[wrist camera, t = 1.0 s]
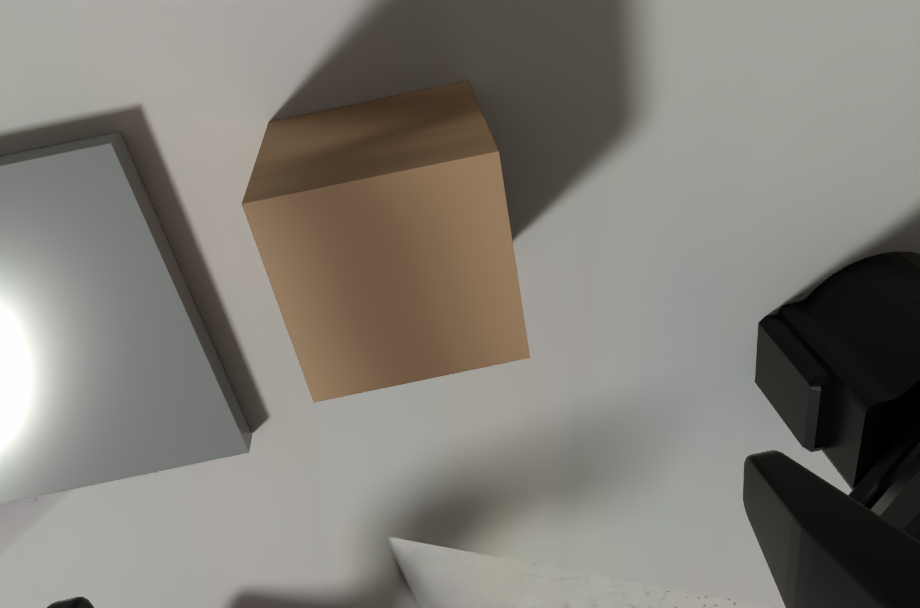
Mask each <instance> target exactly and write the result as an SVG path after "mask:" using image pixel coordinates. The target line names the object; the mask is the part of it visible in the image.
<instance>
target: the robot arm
mask: <svg viewBox="0 0 920 608" xmlns="http://www.w3.org/2000/svg"><path fill="white" fill-rule="evenodd" d="M755 382H756V384H757V385H758V387H759V388H760V389H761V391H762V392H763V393H764V395H765V396H766V398H767V399H768V400H769V402H770V403H771V404H772V406H773V407H774V408H775V410H776V411H777V413H778V414H779V415H780V417H781V418H782V419H783V421H784V422H785V424H786V425H787V426H788V428H789V429H790V430H791V432H792V433H793V435H794V436H795V437H796V439H797V440H798V441H799V443H800V444H801V445H802V447H804V448H805V449H807V450H808V451H810V452H814V451H819V450H822V451H823V452H824V454H825V455H826V456H827V458H828V459H829V460H830V461H831V463H832V464H833V465H834V467H835V468H836V469H837V471H838V472H839V473H840V475H841V476H842V477H843V479H844V480H845V481H846V483H847V484H848V485H849V487H850V488H851V489H852V491H851V492H850V494H849V495H847V494H845V493H843V492H842V491H840V490H839V489H837V488H836V487H834V486H833V485H831V484H829V483H828V482H826V481H825V480H823V479H822V478H820V477H819V476H817V475H816V474H814V473H812V472H811V471H809V470H808V469H806V468H805V467H803V466H802V465H800V464H798V463H797V462H795V461H794V460H792V459H791V458H789V457H788V456H786V455H784V454H783V453H781V452H779V451H775V450H772V451H766V452H762V453H757V454H752V455H749V456H748V457H747V458H746V460H745V463H744V485H743V502H744V507H745V510H746V514H747V516H748V519H749V521H750V523H751V526H752V528H753V531H754V533H755V535H756V538H757V540H758V542H759V545H760V547H761V550H762V552H763V554H764V557H765V559H766V561H767V564H768V566H769V568H770V571H771V573H772V576H773V578H774V580H775V583H776V585H777V587H778V590H779V592H780V595H781V597H782V599H783V602H784V604H785V606H786V608H920V254H918V253H914V252H890V253H883V254H878V255H875V256H871V257H868V258H864V259H862V260H860V261H858V262H855V263H853V264H851V265H848V266H847V267H845V268H843V269H842V270H840V271H838V272H837V273H835V274H833V275H832V276H831V277H829V278H828V279H827V280H825V281H824V282H823V283H822V284H820V285H819V286H818V287H817V288H816V289H815V290H814V291H813V292H812V293H811V294H810V295H809V296H808V297H807V298H806V299H804V300H803V301H800V302H795V303H790V304H787V305H784V306H782V307H781V308H780V309H779V311H778V314H775V315H770V316H765V317H764V318H763V319H762V320H761V321H760V322H759V323H758V340H757V358H756V375H755ZM47 608H94V607H93V605H92V604H91V603H90V601H89V600H88V599H86V598H84V597H76V598H71V599H66V600H61V601H57V602H54V603H52V604H51V605H49V606H48V607H47Z"/></svg>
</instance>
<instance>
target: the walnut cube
mask: <svg viewBox="0 0 920 608" xmlns="http://www.w3.org/2000/svg"><path fill="white" fill-rule="evenodd" d="M242 206H243V209H244V212H245V214H246V217H247V220H248V223H249V225H250V228H251V231H252V234H253V236H254V239H255V242H256V245H257V247H258V250H259V253H260V256H261V258H262V261H263V264H264V267H265V269H266V272H267V275H268V278H269V280H270V283H271V286H272V289H273V291H274V294H275V297H276V300H277V303H278V305H279V308H280V311H281V314H282V316H283V319H284V322H285V325H286V327H287V330H288V333H289V336H290V338H291V341H292V344H293V347H294V349H295V352H296V355H297V358H298V360H299V363H300V366H301V369H302V371H303V374H304V377H305V380H306V382H307V385H308V388H309V391H310V393H311V396H312V399H313V402H318V401H323V400H328V399H333V398H338V397H343V396H347V395H352V394H357V393H362V392H367V391H372V390H376V389H381V388H386V387H391V386H396V385H401V384H405V383H410V382H415V381H420V380H425V379H430V378H434V377H439V376H444V375H449V374H454V373H459V372H463V371H468V370H473V369H478V368H483V367H488V366H492V365H497V364H502V363H507V362H512V361H517V360H521V359H526V358H530V355H529V348H528V342H527V335H526V328H525V322H524V315H523V308H522V302H521V295H520V288H519V282H518V275H517V268H516V262H515V255H514V248H513V242H512V235H511V228H510V222H509V215H508V208H507V202H506V195H505V188H504V182H503V175H502V168H501V162H500V155H499V150H498V148H497V146H496V143H495V141H494V139H493V137H492V134H491V132H490V130H489V128H488V125H487V123H486V121H485V119H484V116H483V114H482V112H481V110H480V107H479V105H478V103H477V100H476V98H475V96H474V94H473V91H472V89H471V87H470V85H469V82H468V81H464V82H459V83H454V84H449V85H445V86H440V87H435V88H430V89H425V90H420V91H415V92H411V93H406V94H401V95H396V96H391V97H386V98H381V99H377V100H372V101H367V102H362V103H357V104H352V105H348V106H343V107H338V108H333V109H328V110H323V111H318V112H314V113H309V114H304V115H299V116H294V117H289V118H284V119H280V120H275V121H270V122H269V123H268V126H267V129H266V132H265V135H264V138H263V141H262V144H261V147H260V150H259V153H258V156H257V159H256V162H255V165H254V168H253V171H252V174H251V178H250V181H249V184H248V187H247V190H246V193H245V196H244V199H243V202H242Z"/></svg>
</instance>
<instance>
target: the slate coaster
mask: <svg viewBox="0 0 920 608" xmlns="http://www.w3.org/2000/svg"><path fill="white" fill-rule="evenodd" d="M251 438H252V433H251V431H250V429H249V426H248V424H247V422H246V419H245V417H244V415H243V413H242V410H241V408H240V406H239V403H238V401H237V399H236V397H235V394H234V392H233V390H232V387H231V385H230V383H229V380H228V378H227V376H226V374H225V371H224V369H223V367H222V364H221V362H220V360H219V357H218V355H217V353H216V351H215V348H214V346H213V344H212V341H211V339H210V337H209V335H208V332H207V330H206V328H205V325H204V323H203V321H202V318H201V316H200V314H199V312H198V309H197V307H196V305H195V302H194V300H193V298H192V295H191V293H190V291H189V289H188V286H187V284H186V282H185V279H184V277H183V275H182V273H181V270H180V268H179V266H178V263H177V261H176V259H175V256H174V254H173V252H172V250H171V247H170V245H169V243H168V240H167V238H166V236H165V233H164V231H163V229H162V227H161V224H160V222H159V220H158V217H157V215H156V213H155V211H154V208H153V206H152V204H151V201H150V199H149V197H148V194H147V192H146V190H145V188H144V185H143V183H142V181H141V178H140V176H139V174H138V171H137V169H136V167H135V165H134V162H133V160H132V158H131V155H130V153H129V151H128V149H127V146H126V144H125V142H124V139H123V137H122V135H121V132H117V133H112V134H107V135H102V136H98V137H93V138H88V139H83V140H78V141H73V142H68V143H64V144H59V145H54V146H49V147H44V148H39V149H35V150H30V151H25V152H20V153H15V154H10V155H5V156H1V157H0V504H4V503H9V502H13V501H18V500H23V499H28V498H33V497H37V496H42V495H47V494H52V493H57V492H61V491H66V490H71V489H76V488H81V487H85V486H90V485H95V484H100V483H104V482H109V481H114V480H119V479H124V478H128V477H133V476H138V475H143V474H148V473H152V472H157V471H162V470H167V469H172V468H176V467H181V466H186V465H191V464H196V463H200V462H205V461H210V460H215V459H220V458H224V457H229V456H234V455H239V454H244V453H248V452H249V449H250V444H251Z"/></svg>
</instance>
